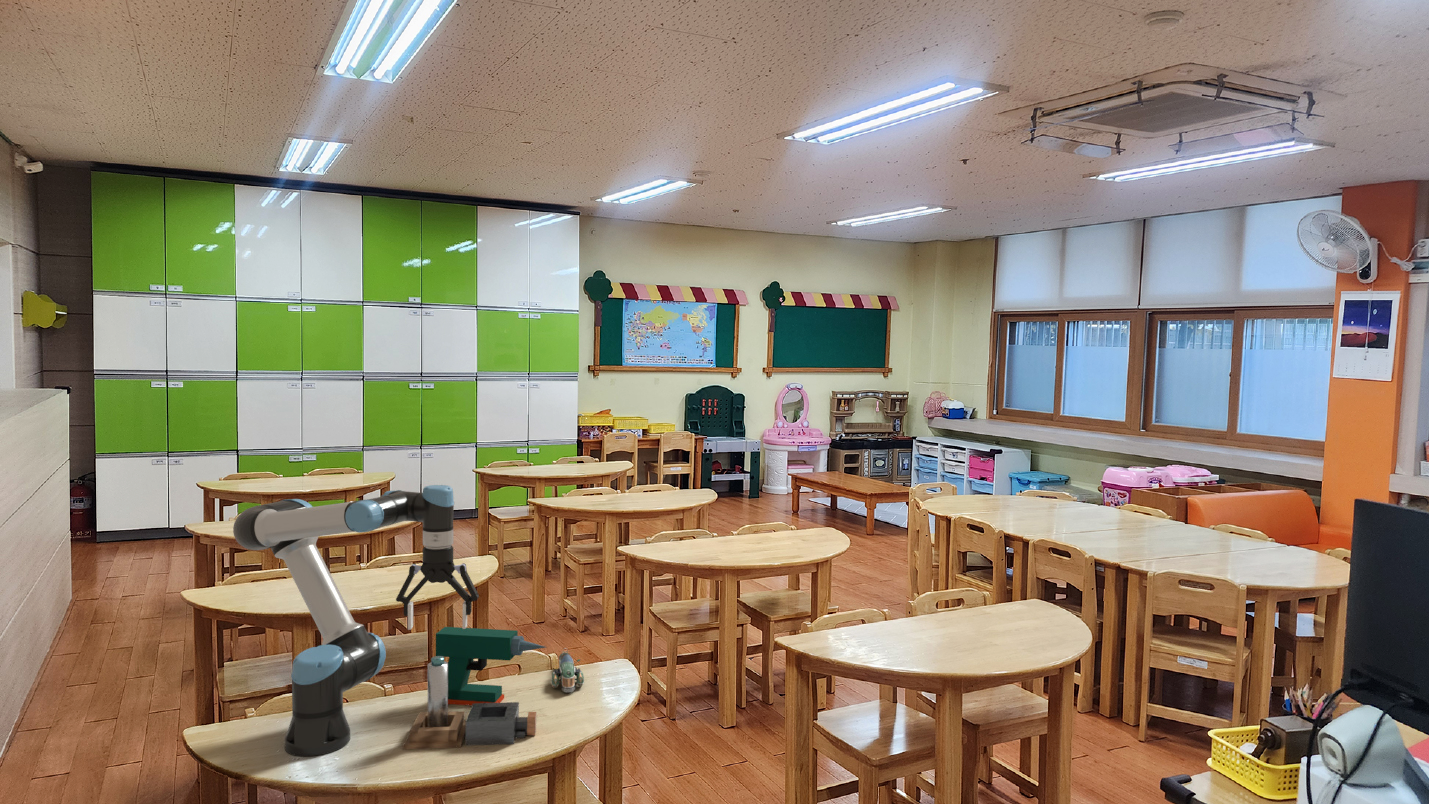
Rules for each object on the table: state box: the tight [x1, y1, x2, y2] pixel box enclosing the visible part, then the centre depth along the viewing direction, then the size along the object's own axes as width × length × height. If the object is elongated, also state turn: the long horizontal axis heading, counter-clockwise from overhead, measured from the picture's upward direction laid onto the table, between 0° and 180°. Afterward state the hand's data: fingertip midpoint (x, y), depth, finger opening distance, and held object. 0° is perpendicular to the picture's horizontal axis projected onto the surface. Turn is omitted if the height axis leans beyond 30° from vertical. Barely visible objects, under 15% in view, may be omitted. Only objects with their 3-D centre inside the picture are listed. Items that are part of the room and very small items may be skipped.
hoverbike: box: [551, 647, 585, 694], centre depth 267 cm, size 10×25×8 cm, turn 13°
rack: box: [402, 710, 467, 750], centre depth 226 cm, size 14×14×4 cm
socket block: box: [465, 701, 526, 746], centre depth 227 cm, size 14×12×6 cm
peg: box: [427, 655, 449, 727], centre depth 225 cm, size 5×5×20 cm
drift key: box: [516, 711, 537, 736], centre depth 228 cm, size 8×4×5 cm, turn 97°
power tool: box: [435, 626, 547, 706], centre depth 248 cm, size 32×7×20 cm, turn 84°
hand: (437, 627), depth 224 cm, fingers open, 13 cm apart
